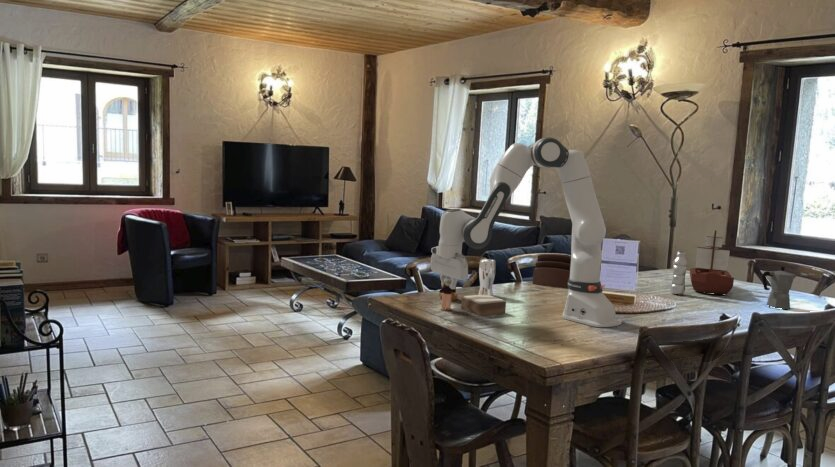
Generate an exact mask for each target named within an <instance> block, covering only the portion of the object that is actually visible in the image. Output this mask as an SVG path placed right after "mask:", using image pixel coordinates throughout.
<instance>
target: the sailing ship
mask: <svg viewBox="0 0 835 467" xmlns="http://www.w3.org/2000/svg"><path fill="white" fill-rule="evenodd" d="M723 238H724V237H720V236H719V237H718V236H717V230H713V236H706V240H705V241H706V242H705V247H704V246H703V247H701V246H697V247H696V248H697V249H696V257H695V267H694V268H693V267H691V268H690V269H689V277H690V282H691V283H690V284H691V287H692V289H693V291H694V292H696V291H698V292H697V293H700V292H705V293H714V294H726V295H727V294H729V292H731V290H732V288H733V286H734V282H735V281H734V280H735V277H733V276H732V275H731V273H730V272H728V270H729V260H730V252H731V251H730V250H731V249H725V248H723ZM705 293H704V294H705ZM714 294H713V295H714Z"/></svg>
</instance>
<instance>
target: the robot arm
mask: <svg viewBox="0 0 835 467" xmlns="http://www.w3.org/2000/svg"><path fill="white" fill-rule="evenodd" d="M532 167H535V168H538V169H550V168H554V169H555V170H556V171H557V174H558V176H559V180H560V183H561V188H562V192H563V197H564V198H565V199H564V200H565V203H566V207H567V210H568V213H569V216H570V220H571V225H572V226H571V247H570V248H571V250H570V253H571V254H570V257H571V267H570V278H569V279H568V288H567V289H568V291H567V296H566V299H565V305H564V309H563V312H562V319H564V320H569V321H572V322H576V323H579V324H583V325H587V326H591V327H595V328H610V327H617V326H621V325H622V323H623V322H622V320H620V319H618V318H616V307H615V305H614V304H613V303H612V302H611V301H610V300H609V298H607V296H606V295H605V294H604V292H603V291H604V290H603V289H604V288H605V287H606V285H604V284H603V285H602V283H601V282H602V281H600V279H601V268H602V267H601V266H602V241H604V239H605V237H606V234H607V228H606V224H605V221H604V217H603V214H602V210H601V207H600V204H599V201H598V199H597V195H596V191H595V188H594V183H593V179H592V176H591V171H590V169H589V168H590V167H589V165H588V163H587V160H586V159H585V156H584V154H583V153H582V152H581V150H578V149H569V150H568V148H566V147H565V146H564V144H562V142H560V140H559V139H557V138H555V137H550V136H549V137H543V138H539V139H538V140H537V141H535V142H533V143H532V144H531V145H529V146H528V145H526V144H523V143H519V142H515V143H512V144H511V145H510V146H509V147H508V148H507V149H506V150H505V152H504V153H503V154H502V155H501V157H500V159H499V160H498V162H497V164H496V166H495V167H494V169H493V171H492V173H491V177H490V178H489V194H488V197H487V199H486V202H485V203H484V205H483V206H482V209H481V210H480V212H479V214H478V216H477V217H474V216H471V215H470V214H468V213H466V212H465V211H464V210H463V209H462V208H452V209H451V208H450V209H446V210H444V211H443V212H442V214H441V217H440V221H439V240H438V245H437V246H434V247H431V250H430V251H431V253H432V254H431V256H430V269H431V272H433V273H437V274H439V278H440V281H441V283H440V285H441V287H442V286H446V285H445V283H444V279H445V278H446V277H449V278H451V280H452V282H451V284H450V287H449V288H450V289H455V286H456V287H457V283H458V281H465V280H467V279H468V277H469V265H468V261H467V258H466V257H465V255H464V254H463V253H462V252H463V251H462V250H463V243H465V244H466V245H467V246H468V247H469V248H471V249H474V250H481V249H483V248H485V247H486V246H488V245H489V243H490V242H491V239H492V235H493V228H494V224H495V223H496V221H497V219H498V217H499V215H500V214H501V212H502V210H503V208H504V206H505V204H506V202H508V200H509V199H510V197H511V196H512V195H513V193H514V192H515V191H516V190H517V188H518V187H519V185H520V184H521V183H522V180H523V179H524V177H525V176H526V175H527V174H526V173H527V172H528V170H529V169H530V168H532Z"/></svg>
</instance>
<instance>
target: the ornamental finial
mask: <svg viewBox="0 0 835 467" xmlns="http://www.w3.org/2000/svg"><path fill="white" fill-rule="evenodd" d="M442 287H443V286H442V285H441V288H442ZM455 290H456V291H457V285H456V286H455ZM451 295H452V296H451V302H452V301H453V300H454V301H456V300H457V299H458V297H459V296H458V294H457V295H456V296H455V295H454V293H453V292H451ZM442 296H443V292H442V293H441V294H440V296H439V299H441V300H442Z"/></svg>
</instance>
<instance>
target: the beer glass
mask: <svg viewBox="0 0 835 467" xmlns="http://www.w3.org/2000/svg"><path fill="white" fill-rule="evenodd" d="M478 274H479V275H478V277H479V290H478V295H483V294H487V295H490V296H493V295H494V293H493V285H494V281H495V276H496V260H495V259H492V258H491V259H490V258H482V259H480V260H479V267H478ZM493 297H494V296H493Z"/></svg>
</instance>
